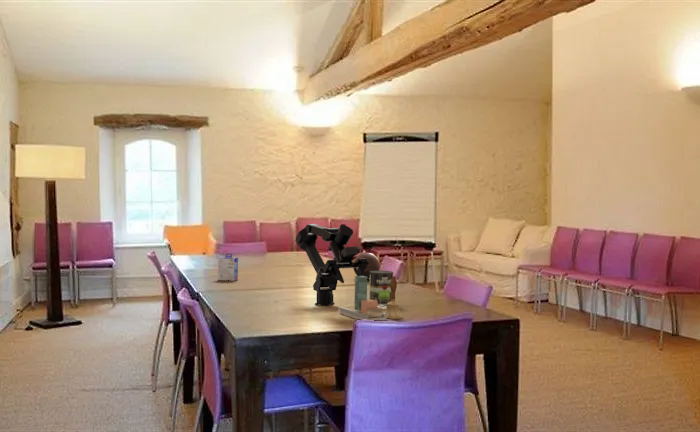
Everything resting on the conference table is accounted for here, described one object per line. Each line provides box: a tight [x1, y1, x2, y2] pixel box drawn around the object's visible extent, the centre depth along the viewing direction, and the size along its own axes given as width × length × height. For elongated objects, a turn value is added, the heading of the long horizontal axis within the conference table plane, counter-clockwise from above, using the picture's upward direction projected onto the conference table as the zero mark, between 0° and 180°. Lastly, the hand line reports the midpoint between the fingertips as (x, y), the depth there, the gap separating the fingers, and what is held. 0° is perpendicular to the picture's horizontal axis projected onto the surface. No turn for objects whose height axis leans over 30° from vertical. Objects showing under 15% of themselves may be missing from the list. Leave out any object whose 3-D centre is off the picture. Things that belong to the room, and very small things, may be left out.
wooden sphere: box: [352, 252, 381, 280], centre depth 379 cm, size 15×15×15 cm
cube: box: [361, 299, 379, 313], centre depth 260 cm, size 4×4×4 cm
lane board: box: [338, 305, 387, 321], centre depth 267 cm, size 20×19×2 cm
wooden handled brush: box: [385, 275, 404, 320], centre depth 265 cm, size 8×8×16 cm
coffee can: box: [368, 270, 394, 306], centre depth 296 cm, size 10×10×14 cm
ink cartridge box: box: [217, 252, 239, 282], centre depth 368 cm, size 10×6×14 cm, turn 77°
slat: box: [352, 275, 382, 318], centre depth 262 cm, size 12×6×14 cm, turn 30°
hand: (353, 282), depth 271 cm, fingers open, 9 cm apart
